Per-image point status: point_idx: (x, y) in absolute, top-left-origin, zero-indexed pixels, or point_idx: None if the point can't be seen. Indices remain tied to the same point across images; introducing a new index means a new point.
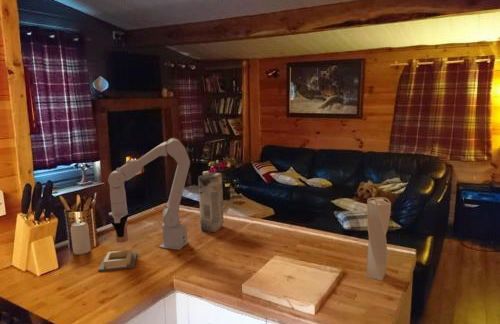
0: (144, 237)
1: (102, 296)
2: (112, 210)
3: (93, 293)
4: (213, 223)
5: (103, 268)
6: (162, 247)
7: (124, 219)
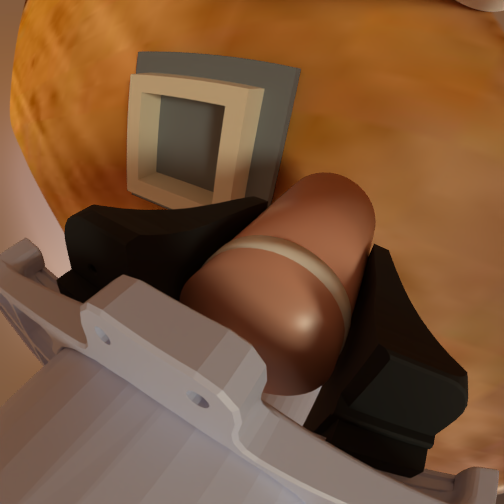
0: (467, 345)
1: (42, 97)
2: (5, 408)
3: (52, 71)
4: None
5: (141, 72)
6: None
7: (300, 394)
